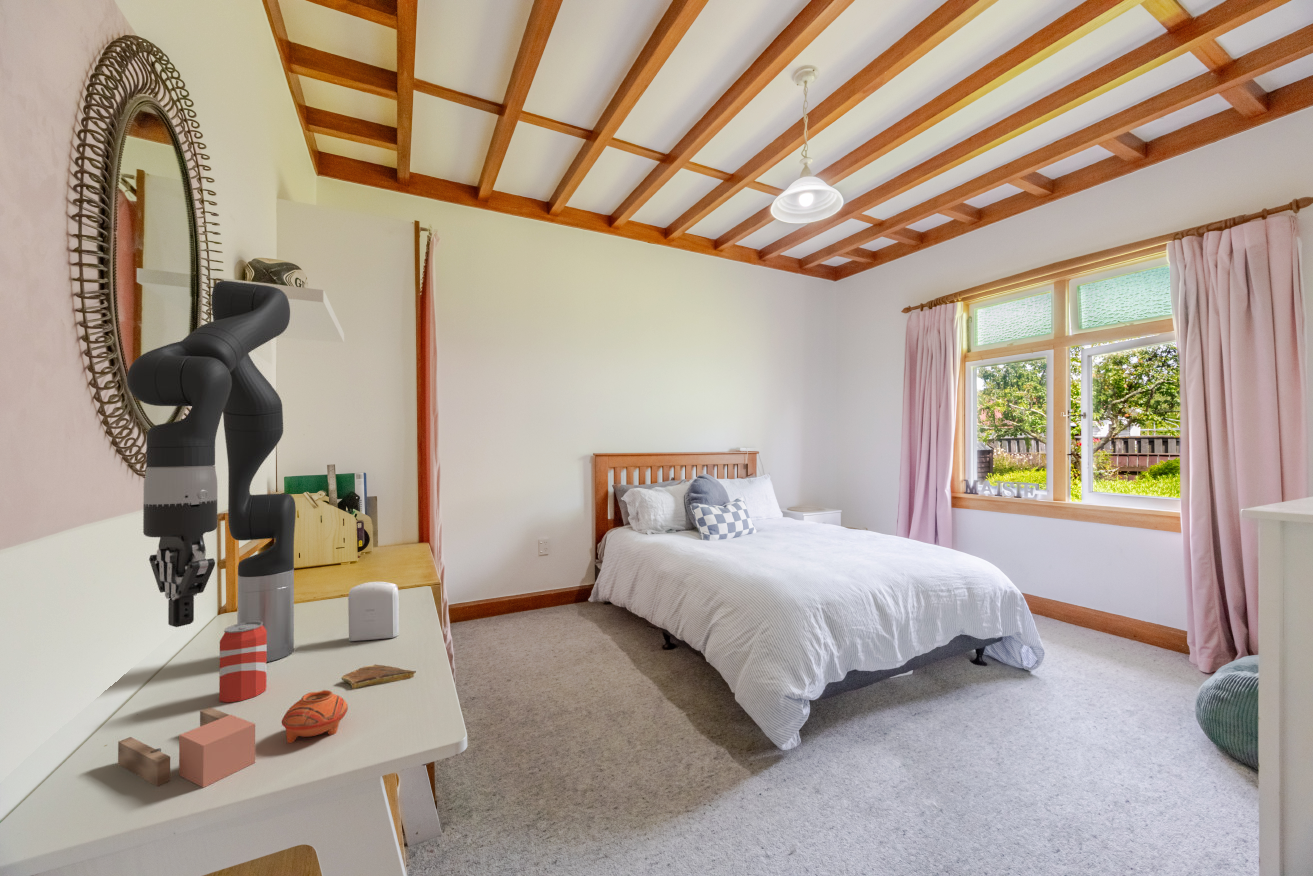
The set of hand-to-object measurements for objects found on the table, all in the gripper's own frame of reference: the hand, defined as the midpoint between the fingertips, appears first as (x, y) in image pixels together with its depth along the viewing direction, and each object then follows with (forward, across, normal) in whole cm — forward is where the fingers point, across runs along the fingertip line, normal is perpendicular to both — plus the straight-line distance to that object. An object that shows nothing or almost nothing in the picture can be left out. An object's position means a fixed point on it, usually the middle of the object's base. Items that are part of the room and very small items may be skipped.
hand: (181, 624), depth 70 cm
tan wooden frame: (+18, +3, 0) cm, 18 cm away
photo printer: (+18, -18, +41) cm, 48 cm away
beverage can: (+18, -12, +13) cm, 25 cm away
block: (+17, +10, 0) cm, 20 cm away
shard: (+19, +2, +28) cm, 34 cm away
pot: (+18, +13, +10) cm, 24 cm away
